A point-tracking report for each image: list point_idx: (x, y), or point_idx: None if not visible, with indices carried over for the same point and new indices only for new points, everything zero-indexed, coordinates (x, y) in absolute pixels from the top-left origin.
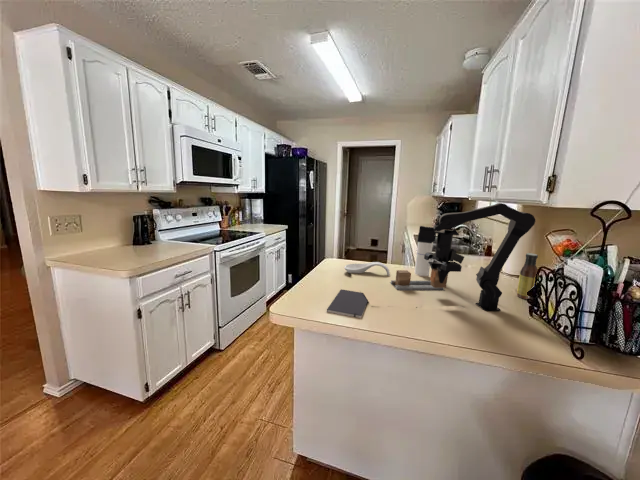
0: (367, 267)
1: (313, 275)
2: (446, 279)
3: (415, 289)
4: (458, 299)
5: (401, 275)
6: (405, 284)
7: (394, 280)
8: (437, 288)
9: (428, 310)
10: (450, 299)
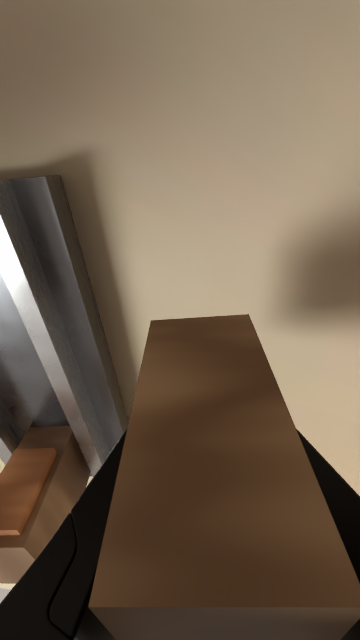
0: None
1: None
2: (278, 400)
3: (97, 402)
4: (188, 84)
5: None
6: (74, 459)
7: None
8: (31, 251)
9: (345, 400)
10: (193, 185)
